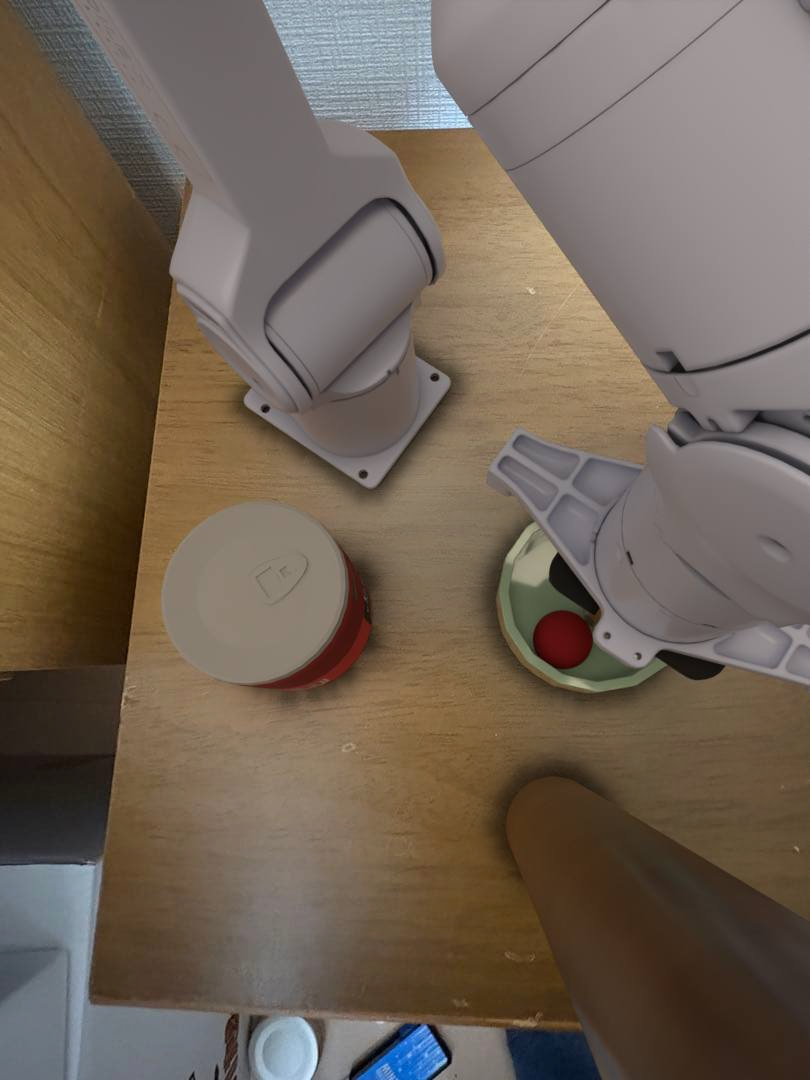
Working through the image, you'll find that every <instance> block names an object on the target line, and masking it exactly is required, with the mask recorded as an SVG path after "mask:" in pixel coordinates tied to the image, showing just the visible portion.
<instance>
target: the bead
mask: <svg viewBox="0 0 810 1080" xmlns="http://www.w3.org/2000/svg"><path fill="white" fill-rule="evenodd" d="M533 645H534V649H535V651H536V653H537V655H538V657H539V658H540V659H542V660H543V661H545V662H546V663H548V664H549V665H551V666H552V667H554V668H556V669H571V668H574V667H577V666H578V665H580V664H581V663H583V662H584V661H585V660H586V659H587V657H588V656H589V654H590V652H591V649H592V645H593V637H592V632H591V629H590V627H589V625H588V624H587V622H586V621H585V620H584V619H583V618H582V617H581V616H579V615H578V614H576V613H574V612H571V611H566V610H558V611H553V612H551V613H548V614H547V615H545V616H544V617H543V618H541V619H540V621H539V622H538V623H537V625H536V627H535V629H534V633H533Z"/></svg>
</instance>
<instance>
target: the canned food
mask: <svg viewBox="0 0 810 1080" xmlns="http://www.w3.org/2000/svg"><path fill="white" fill-rule="evenodd" d="M160 591H161V592H160V613H161V616H162V621H163V625H164V630H165V631H166V634H167V636H168V638H169V640H170V642H171V645H172V646H173V647H174V649H175V650H176V651H177V652H178V653H179V655H180V656H181V658H182V659H184V661H186V663H188V664H189V665H191V667H193V668H194V669H195V670H197V671H198V672H200V673H202V674H204V675H206V676H207V677H210V678H211V679H214V680H216V681H219V682H222V683H227V684H229V685H233V686H235V685H236V686H239V687H250V688H259V689H268V690H269V689H270V690H278V691H294V692H299V691H306V690H308V691H309V690H313V689H316V688H319V687H321V686H325V685H327V684H329V683H330V682H332V681H334V680H336V679H337V678H339V677H341V676H342V675H343V674H344V673H345V672H347V671H348V669H350V668H351V666H353V664H354V663H355V662H356V661H357V660H358V658H359V657H360V655H361V654H362V652H363V650H364V648H365V646H366V644H367V642H368V639H369V636H370V633H371V630H372V622H373V603H372V598H371V595H370V592H369V588H368V586H367V584H366V582H365V581H364V579H363V577H362V575H361V573H360V572H359V571H358V568H356V566H355V565H354V563H353V562H352V560H351V559H350V558H349V556H348V555H347V553H346V552H345V550H344V548H343V547H342V545H341V544H340V542H339V541H338V540H337V539H336V538H335V537H334V536H333V534H332V533H331V532H330V531H329V529H327V527H326V526H325V525H323V523H321V522H320V521H319V520H318V519H316V518H315V517H314V516H312V515H310V514H309V513H307V512H305V511H304V510H301V509H299V508H297V507H295V506H293V505H289V504H285V503H282V502H277V501H266V500H265V501H264V500H263V501H262V500H255V501H247V502H242V503H241V502H240V503H237V504H234V505H232V506H228V507H226V508H223V509H221V510H219V511H217V512H215V513H214V514H212V515H210V516H207V517H206V518H205V519H204V520H202V521H201V522H200V523H199V524H197V525H196V526H195V527H194V528H192V529H191V530H190V531H189V532H188V534H187V535H186V536H185V537H184V538H183V539H182V541H181V542H180V543H179V545H178V546H177V547H176V549H175V551H174V552H173V554H172V556H171V557H170V559H169V562H168V564H167V567H166V570H165V572H164V575H163V580H162V585H161V590H160Z"/></svg>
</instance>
